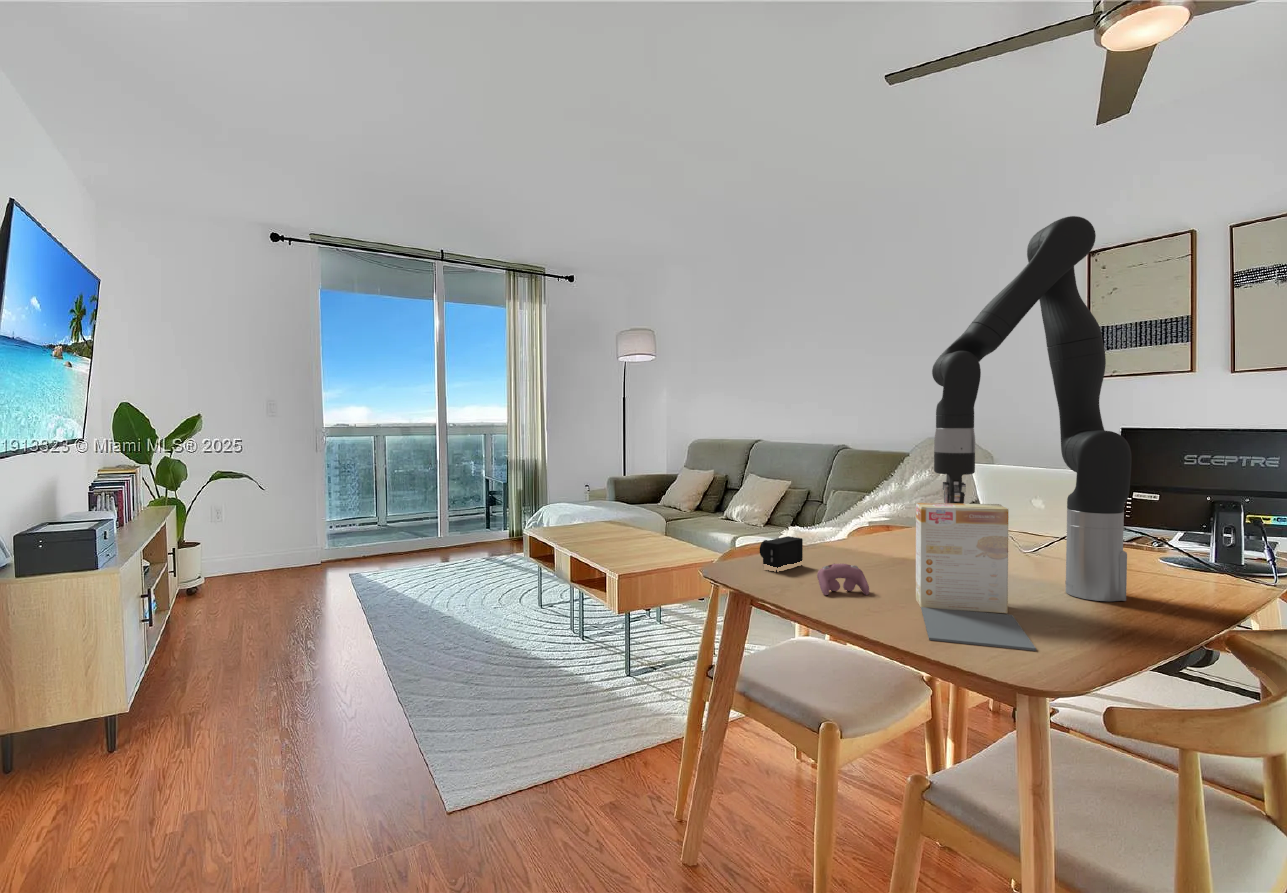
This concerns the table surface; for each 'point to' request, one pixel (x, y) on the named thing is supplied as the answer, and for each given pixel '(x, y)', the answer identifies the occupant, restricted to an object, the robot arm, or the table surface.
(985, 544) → the coffeecake box
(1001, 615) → the mat
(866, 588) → the video game controller
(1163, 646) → the table surface
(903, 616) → the table surface
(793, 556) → the digital camera
